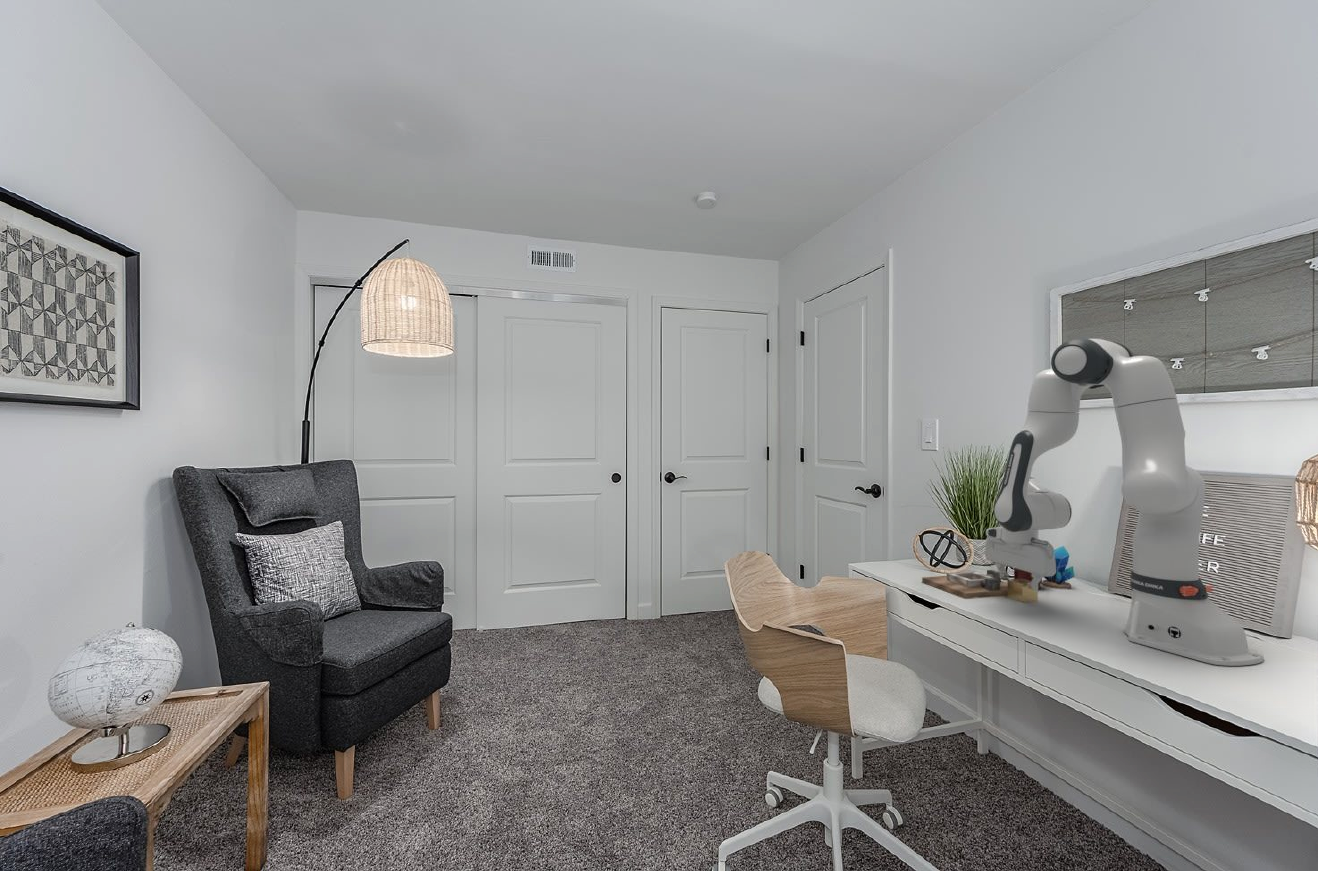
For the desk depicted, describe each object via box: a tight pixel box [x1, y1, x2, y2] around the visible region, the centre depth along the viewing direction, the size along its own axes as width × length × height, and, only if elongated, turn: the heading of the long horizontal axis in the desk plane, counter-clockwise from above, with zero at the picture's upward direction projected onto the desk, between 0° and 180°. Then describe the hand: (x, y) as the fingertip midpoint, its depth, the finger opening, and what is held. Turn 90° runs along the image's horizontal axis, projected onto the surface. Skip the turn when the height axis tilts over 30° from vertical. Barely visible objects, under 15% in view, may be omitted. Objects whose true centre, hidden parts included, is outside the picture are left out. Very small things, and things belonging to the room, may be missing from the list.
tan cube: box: [1006, 578, 1039, 603], centre depth 159 cm, size 5×5×5 cm
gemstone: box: [1041, 545, 1075, 589], centre depth 172 cm, size 7×9×12 cm
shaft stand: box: [921, 569, 1008, 599], centre depth 171 cm, size 18×20×4 cm
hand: (1018, 584), depth 159 cm, fingers open, 8 cm apart
